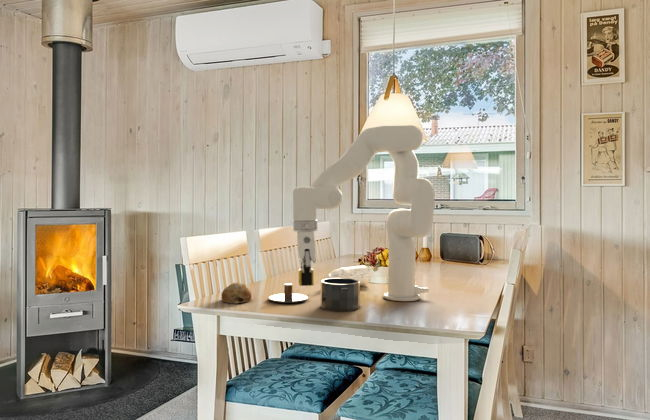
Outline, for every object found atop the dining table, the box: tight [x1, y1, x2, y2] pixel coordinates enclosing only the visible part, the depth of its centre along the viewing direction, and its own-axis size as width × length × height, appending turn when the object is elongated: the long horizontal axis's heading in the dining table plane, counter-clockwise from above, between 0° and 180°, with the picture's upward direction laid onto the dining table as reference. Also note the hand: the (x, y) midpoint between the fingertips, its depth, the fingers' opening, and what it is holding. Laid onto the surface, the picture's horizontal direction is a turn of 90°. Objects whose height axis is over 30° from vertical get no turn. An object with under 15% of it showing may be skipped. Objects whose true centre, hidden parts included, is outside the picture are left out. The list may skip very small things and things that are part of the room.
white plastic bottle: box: [323, 265, 372, 287], centre depth 205 cm, size 8×19×8 cm, turn 125°
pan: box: [320, 278, 361, 312], centre depth 170 cm, size 12×18×8 cm
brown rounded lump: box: [221, 282, 252, 305], centre depth 178 cm, size 10×10×8 cm
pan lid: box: [268, 283, 309, 304], centre depth 180 cm, size 13×13×6 cm
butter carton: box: [297, 267, 314, 287], centre depth 165 cm, size 4×4×5 cm
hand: (306, 283), depth 165 cm, fingers closed on butter carton, 3 cm apart
